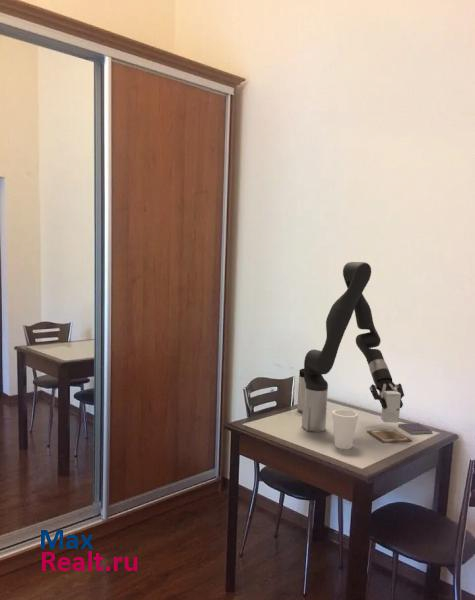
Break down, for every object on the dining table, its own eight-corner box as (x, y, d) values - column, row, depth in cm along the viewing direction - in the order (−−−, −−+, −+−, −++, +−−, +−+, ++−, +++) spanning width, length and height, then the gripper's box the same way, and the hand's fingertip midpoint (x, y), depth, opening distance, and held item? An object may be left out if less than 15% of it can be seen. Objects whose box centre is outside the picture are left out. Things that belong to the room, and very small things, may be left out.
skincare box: (385, 422, 207) (387, 393, 206) (380, 419, 211) (382, 390, 210) (399, 422, 208) (401, 393, 206) (394, 419, 212) (396, 390, 211)
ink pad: (411, 434, 213) (411, 431, 213) (398, 426, 223) (398, 423, 223) (432, 433, 216) (432, 430, 216) (418, 425, 226) (418, 422, 226)
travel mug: (312, 410, 242) (314, 368, 241) (308, 413, 236) (310, 371, 235) (300, 408, 245) (302, 367, 243) (295, 411, 239) (297, 369, 237)
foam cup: (355, 443, 200) (357, 411, 199) (355, 451, 191) (357, 418, 190) (331, 440, 202) (333, 408, 201) (330, 448, 193) (332, 415, 192)
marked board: (383, 443, 202) (383, 441, 202) (366, 432, 214) (367, 430, 214) (412, 441, 205) (412, 439, 205) (394, 430, 218) (394, 429, 218)
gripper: (368, 368, 213) (381, 404, 203) (398, 367, 216) (413, 402, 206) (361, 377, 218) (373, 412, 208) (391, 376, 222) (405, 411, 212)
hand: (393, 407), depth 207 cm, fingers closed on skincare box, 6 cm apart
